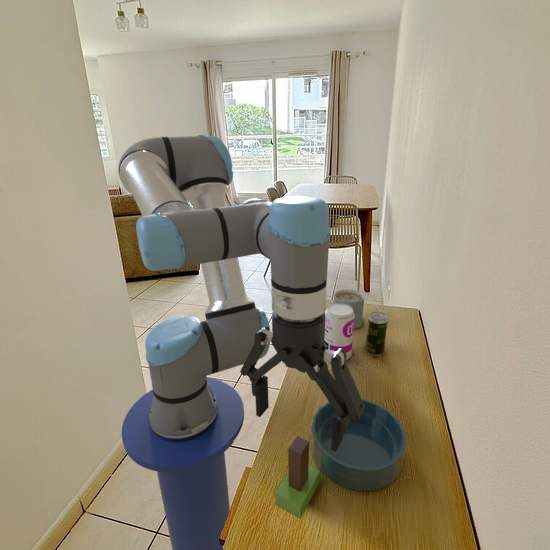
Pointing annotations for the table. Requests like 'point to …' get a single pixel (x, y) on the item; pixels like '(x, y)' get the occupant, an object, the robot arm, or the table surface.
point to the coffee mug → (351, 303)
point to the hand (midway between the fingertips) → (297, 427)
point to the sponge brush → (297, 480)
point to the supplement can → (339, 328)
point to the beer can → (376, 333)
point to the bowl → (360, 448)
